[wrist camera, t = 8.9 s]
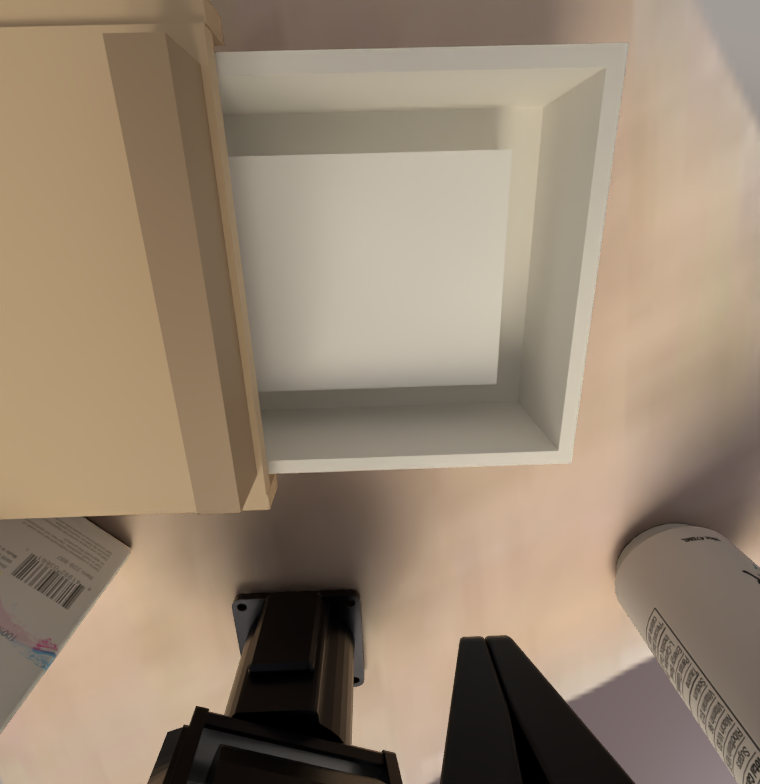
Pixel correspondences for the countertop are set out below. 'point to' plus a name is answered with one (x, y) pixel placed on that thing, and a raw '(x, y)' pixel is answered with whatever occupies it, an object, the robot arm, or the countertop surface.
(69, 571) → the ink box
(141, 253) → the lid
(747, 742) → the energy drink can
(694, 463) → the countertop surface
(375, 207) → the mailer box
